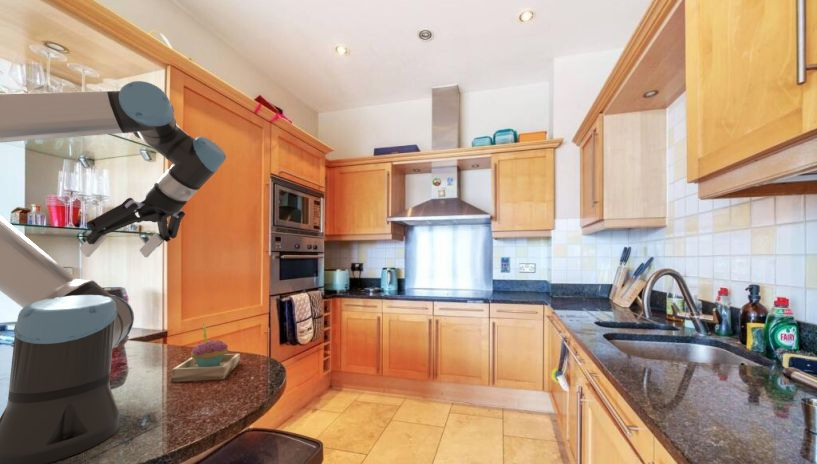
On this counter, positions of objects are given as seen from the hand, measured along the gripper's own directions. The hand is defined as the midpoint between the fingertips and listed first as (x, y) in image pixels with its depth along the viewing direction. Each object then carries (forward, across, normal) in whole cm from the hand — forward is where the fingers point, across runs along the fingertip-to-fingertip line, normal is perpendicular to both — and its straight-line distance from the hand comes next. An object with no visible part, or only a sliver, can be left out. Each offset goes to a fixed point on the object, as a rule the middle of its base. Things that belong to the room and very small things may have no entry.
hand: (116, 253), depth 79 cm
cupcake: (+10, +13, -34) cm, 37 cm away
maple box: (+10, +13, -34) cm, 38 cm away
